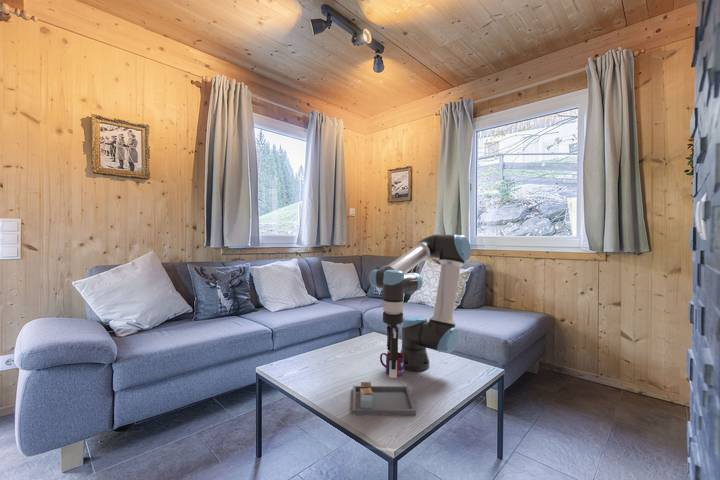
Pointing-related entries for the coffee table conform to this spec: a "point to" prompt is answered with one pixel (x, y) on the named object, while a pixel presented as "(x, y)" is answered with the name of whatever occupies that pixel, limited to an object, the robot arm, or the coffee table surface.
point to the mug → (399, 363)
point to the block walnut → (365, 385)
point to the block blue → (366, 401)
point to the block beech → (365, 392)
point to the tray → (385, 401)
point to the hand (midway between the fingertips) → (391, 372)
